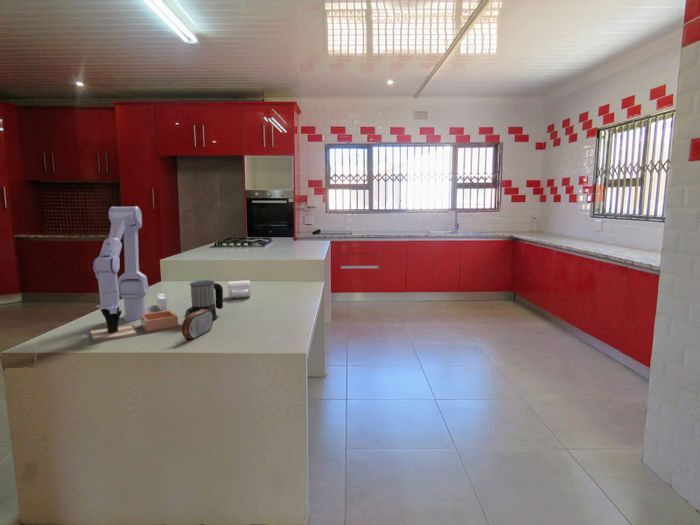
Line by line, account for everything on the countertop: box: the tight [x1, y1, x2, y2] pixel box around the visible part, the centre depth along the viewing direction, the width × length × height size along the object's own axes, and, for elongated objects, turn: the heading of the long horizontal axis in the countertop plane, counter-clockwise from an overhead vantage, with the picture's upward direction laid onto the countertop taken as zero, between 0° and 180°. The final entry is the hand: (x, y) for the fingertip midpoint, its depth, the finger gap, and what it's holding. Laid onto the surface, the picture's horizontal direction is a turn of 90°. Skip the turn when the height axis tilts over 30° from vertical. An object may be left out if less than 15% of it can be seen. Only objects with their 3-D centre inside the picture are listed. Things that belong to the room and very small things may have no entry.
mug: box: [227, 279, 252, 299], centre depth 197 cm, size 12×10×8 cm
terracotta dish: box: [140, 309, 179, 333], centre depth 153 cm, size 10×10×4 cm
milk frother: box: [185, 280, 224, 321], centre depth 164 cm, size 14×16×15 cm
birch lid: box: [89, 323, 136, 342], centre depth 144 cm, size 12×12×4 cm
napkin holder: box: [156, 293, 168, 311], centre depth 182 cm, size 15×11×6 cm
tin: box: [181, 309, 214, 340], centre depth 143 cm, size 15×3×8 cm, turn 166°
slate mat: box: [85, 324, 142, 345], centre depth 144 cm, size 15×15×1 cm
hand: (112, 329), depth 144 cm, fingers closed on birch lid, 3 cm apart
